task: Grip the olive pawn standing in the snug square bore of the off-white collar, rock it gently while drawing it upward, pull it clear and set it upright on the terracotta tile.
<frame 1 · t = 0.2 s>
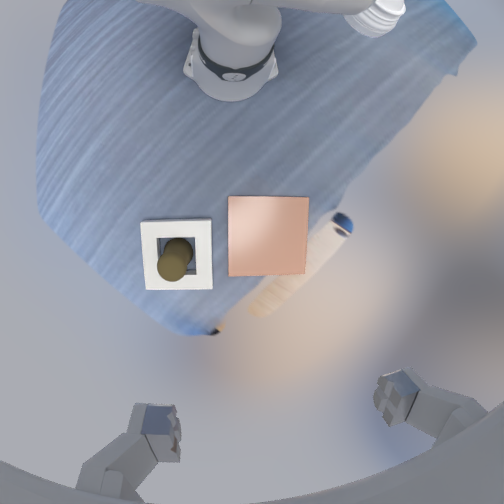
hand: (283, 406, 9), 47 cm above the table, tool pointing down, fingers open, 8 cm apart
terracotta tile: (268, 236, 57), on the table
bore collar: (178, 252, 55), on the table
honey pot: (364, 18, 46), on the table
olive pawn: (178, 252, 55), resting in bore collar
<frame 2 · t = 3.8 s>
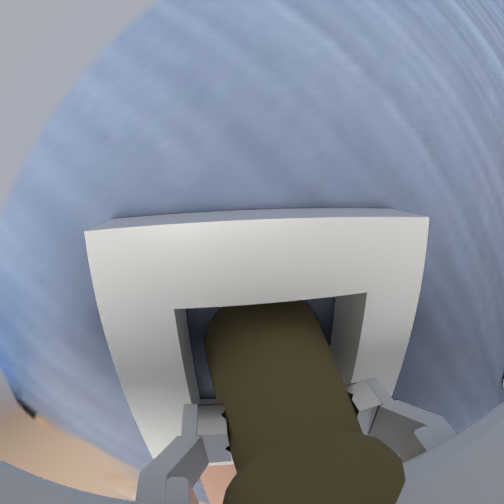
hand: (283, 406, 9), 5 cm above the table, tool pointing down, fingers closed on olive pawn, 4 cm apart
terracotta tile: (295, 487, 19), on the table
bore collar: (263, 343, 14), on the table
olive pawn: (263, 341, 14), resting in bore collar, touching gripper
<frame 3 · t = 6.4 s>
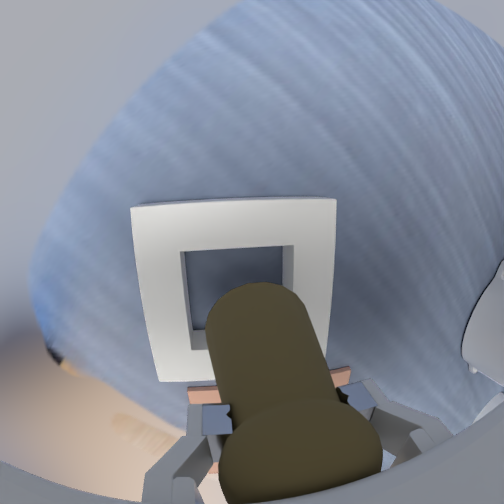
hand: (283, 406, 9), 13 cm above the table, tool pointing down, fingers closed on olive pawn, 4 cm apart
terracotta tile: (270, 430, 27), on the table
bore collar: (235, 285, 22), on the table
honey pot: (485, 412, 41), on the table
olive pawn: (257, 329, 16), point 6 cm above the table, touching gripper
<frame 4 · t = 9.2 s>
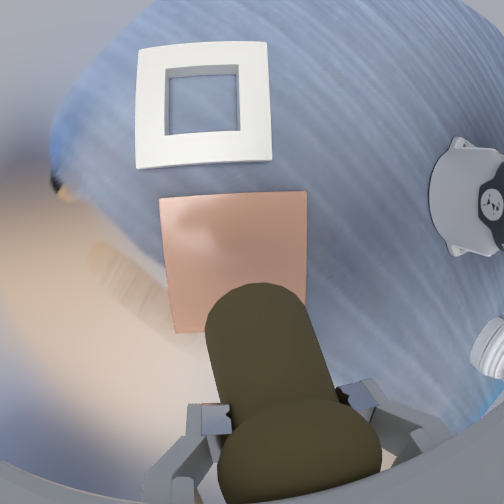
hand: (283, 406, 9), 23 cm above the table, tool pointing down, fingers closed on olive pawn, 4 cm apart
terracotta tile: (236, 264, 32), on the table
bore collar: (202, 105, 27), on the table
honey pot: (486, 341, 45), on the table
olive pawn: (257, 329, 16), point 16 cm above the table, touching gripper
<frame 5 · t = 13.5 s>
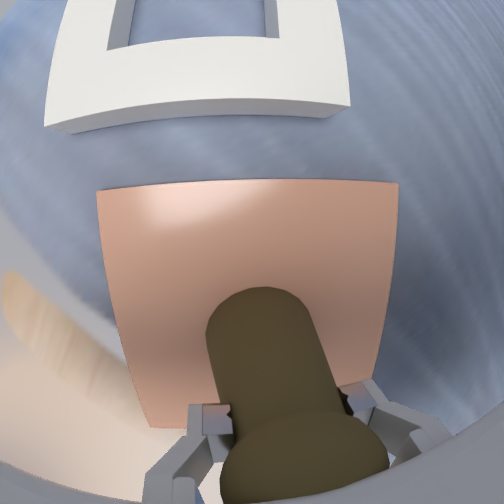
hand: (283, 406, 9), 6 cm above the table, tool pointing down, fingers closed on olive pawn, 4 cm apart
terracotta tile: (259, 325, 16), on the table
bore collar: (197, 11, 11), on the table
olive pawn: (259, 334, 15), resting on terracotta tile, touching gripper
when the fingers open (6 cm above the table, at t = 13.9 s): olive pawn stays where it is, resting on terracotta tile.
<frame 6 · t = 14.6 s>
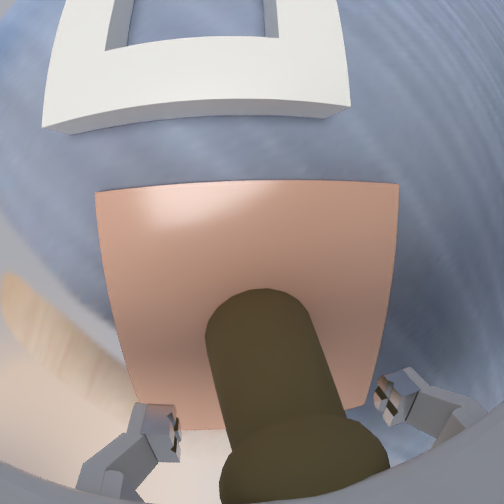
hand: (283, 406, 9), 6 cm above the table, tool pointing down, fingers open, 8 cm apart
terracotta tile: (258, 327, 15), on the table
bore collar: (196, 11, 11), on the table
olive pawn: (259, 336, 15), resting on terracotta tile
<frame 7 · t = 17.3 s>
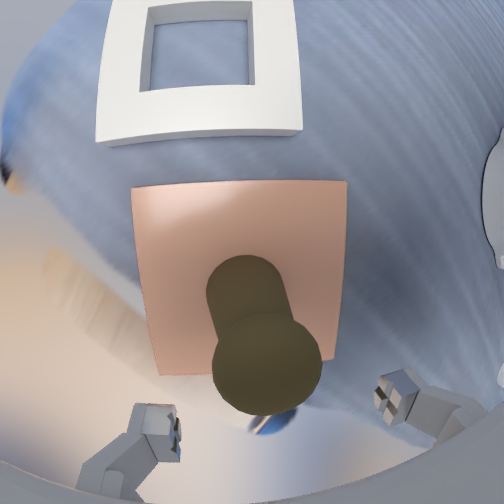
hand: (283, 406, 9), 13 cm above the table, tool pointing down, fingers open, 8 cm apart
terracotta tile: (245, 285, 22), on the table
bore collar: (199, 56, 17), on the table
olive pawn: (245, 291, 22), resting on terracotta tile
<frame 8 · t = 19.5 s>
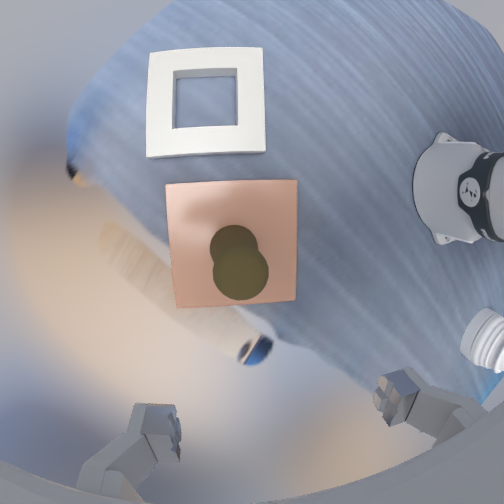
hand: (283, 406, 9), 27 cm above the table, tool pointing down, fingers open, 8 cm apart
terracotta tile: (233, 244, 35), on the table
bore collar: (205, 103, 31), on the table
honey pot: (476, 331, 48), on the table
olive pawn: (233, 248, 35), resting on terracotta tile
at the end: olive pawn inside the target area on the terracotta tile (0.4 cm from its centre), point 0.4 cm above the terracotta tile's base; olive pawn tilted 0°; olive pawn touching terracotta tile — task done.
